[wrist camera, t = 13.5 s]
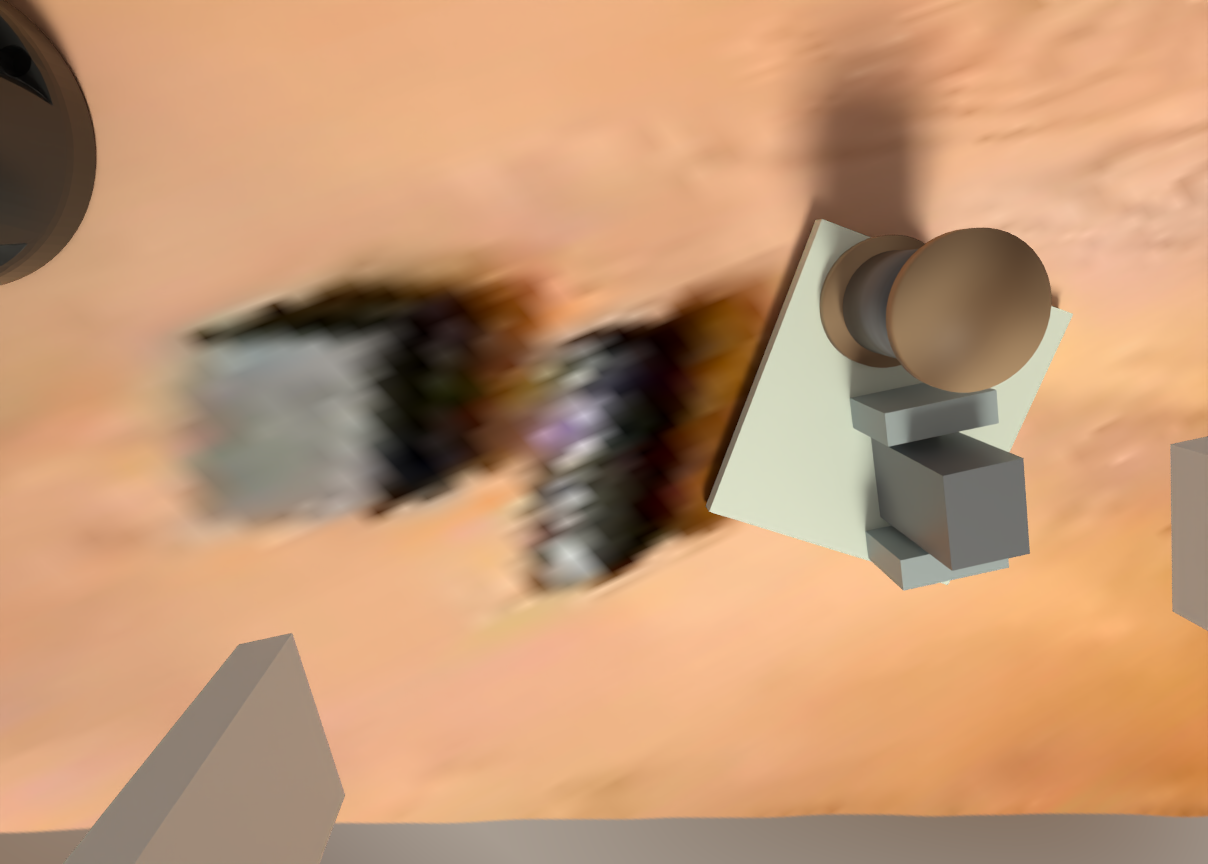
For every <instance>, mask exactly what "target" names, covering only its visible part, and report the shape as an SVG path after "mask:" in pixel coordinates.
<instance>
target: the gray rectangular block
mask: <svg viewBox="0 0 1208 864" xmlns="http://www.w3.org/2000/svg"><path fill="white" fill-rule="evenodd" d="M871 443H872V451H873V460H874V468H875V477H876V485H877V494H878V502H879V510H880V517H881V518H883V519H884V520H885V521H887V522H888V523H889V524H891V525H892V526H893V527H894V528H896V529H897V530H898V531H900V532H901V533H902V534H904V535H905V536H906V537H908V538H909V539H910V540H912V541H913V542H914V543H916V544H917V545H918V546H920V547H921V548H922V549H924V550H925V551H926V552H928V553H929V554H930V555H932V556H933V557H934V558H936V559H937V560H938V561H940V562H941V563H942V564H944V565H945V566H946V567H947V568H949V569H950V570H951V571H954V570H958V569H963V568H967V567H972V566H976V565H981V564H985V563H989V562H994V561H998V560H1003V559H1007V558H1012V557H1016V556H1021V555H1025V554H1030V550H1029V536H1028V521H1027V506H1026V492H1025V477H1024V462H1023V458H1021V457H1019V456H1016V455H1014V454H1012V453H1009V452H1007V451H1004V450H1002V449H999V448H997V447H994V446H992V445H989V444H987V443H984V442H982V441H980V440H977V439H975V438H972V437H970V436H967V435H965V434H962V433H960V432H955V433H950V434H946V435H941V436H936V437H932V438H927V439H922V440H917V441H913V442H908V443H903V444H899V445H894V446H889V447H888V446H886V445H884V444H882V443H880V442H878V441H877V440H875V439H873V438H871Z"/></svg>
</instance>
